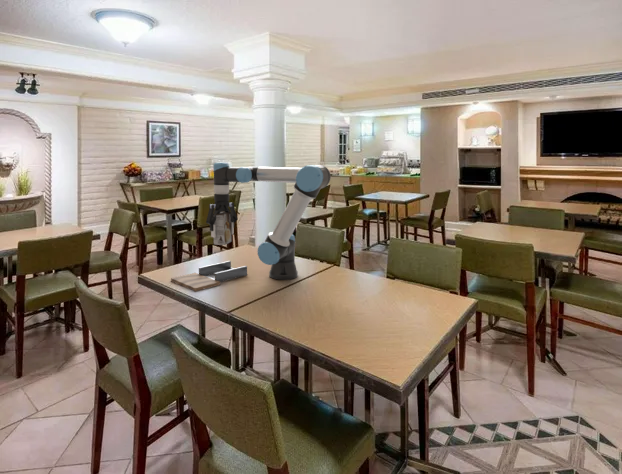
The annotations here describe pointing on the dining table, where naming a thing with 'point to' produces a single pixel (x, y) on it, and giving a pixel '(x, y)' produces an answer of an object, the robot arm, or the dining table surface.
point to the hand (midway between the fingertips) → (222, 235)
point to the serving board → (195, 281)
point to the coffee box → (222, 228)
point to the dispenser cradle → (223, 271)
